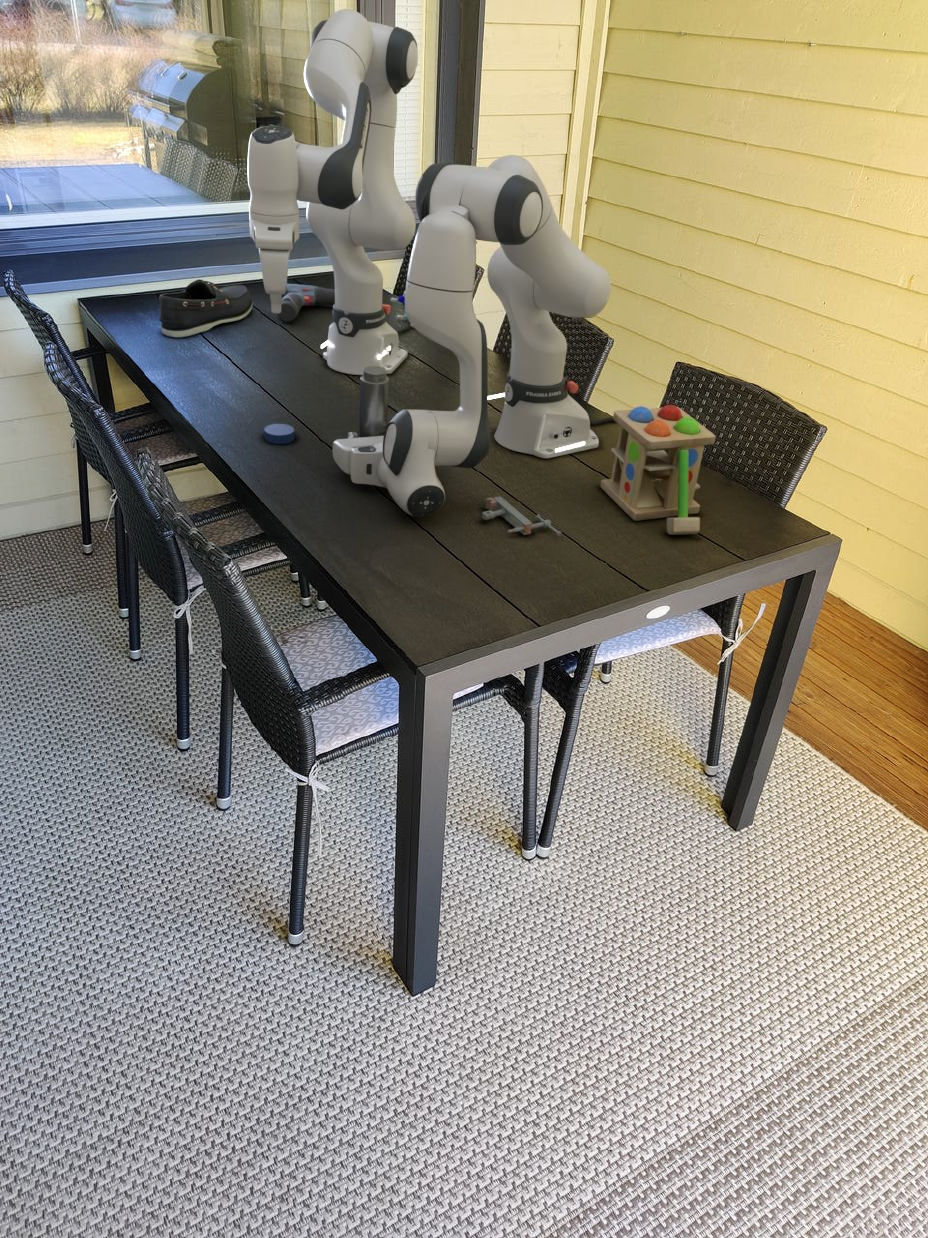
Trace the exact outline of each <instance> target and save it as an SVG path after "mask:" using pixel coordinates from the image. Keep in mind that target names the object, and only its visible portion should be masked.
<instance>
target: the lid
mask: <svg viewBox="0 0 928 1238" xmlns="http://www.w3.org/2000/svg"><path fill="white" fill-rule="evenodd" d="M263 432H264V434H263V435H264V439H265V441H266V442H268V443H271V444H275V445H286V444H289V443H292V442H293V441H294V439H295V435H296V433H295V428H294V427H293V426H291V425H290V424H286V423H271V424H268V425H266V426H265V427H264V430H263Z"/></svg>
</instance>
